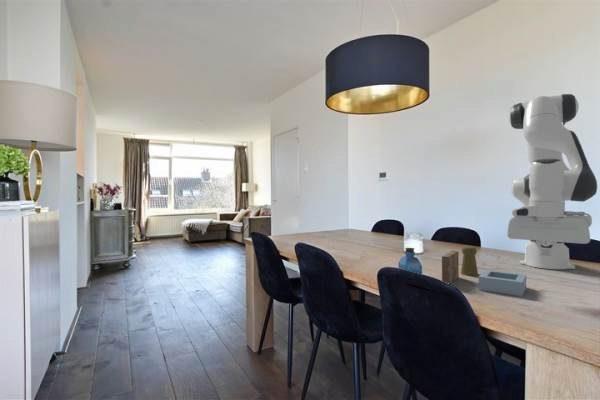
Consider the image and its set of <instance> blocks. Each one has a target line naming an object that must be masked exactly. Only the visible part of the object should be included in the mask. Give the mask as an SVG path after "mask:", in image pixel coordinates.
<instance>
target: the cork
mask: <svg viewBox="0 0 600 400" xmlns="http://www.w3.org/2000/svg"><path fill="white" fill-rule="evenodd" d="M477 251H478V250H477V247H475V246H472V245H464V246H462V248H461V252H462V255H463V256H462V262H461V263H462V264H461V269H460V270H461V271H460V274H461V275H463V276H468V277H470V276H471V277H476V276H478V275H479V272H478V265H477V260H476V255H477V253H478V252H477Z"/></svg>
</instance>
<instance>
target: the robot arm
mask: <svg viewBox="0 0 600 400" xmlns="http://www.w3.org/2000/svg"><path fill="white" fill-rule="evenodd" d="M579 107H580V106H579V101H578V100H577V98H576V96H575V95H573V93H564V94H563V93H562V94H560V95H550V96H549V95H548V96H546V95H543V96H542V95H541V96H537V97H534V98H532V99H531V100H527V101H525V102H519V103H517V104H514V105H512V106H511V108H510V109H509V112H508V115H507V116H508V117H507V120H508V122H509V124H510V125H511V127H512V128H513V129H515V130H523V136H524V139H525V140H526V142H527V154H528V162H529V164H530V169H529V174H527V175H526V176H522V177H518V178H517V177H516V178H515V180H513V182H512V183H511V187H510V191H511V194H512V196H513V197H514V198H515V199H516V200H518V201H520V203H522V204H523V206H521V207H519V208H518V207H517V208H514V209H512V212H511V215H512V217H511V218H510V219H509V221H508V225H507V234H506V235H507V237H508V238H509V239H510V240H521V241H522V240H526V241H529V242H528V243H526V244H525V246H524V259H522V260H520V261H519V264H522V265H526V266H528V267H534V268H538V269H539V268H540V269H548V270H576V266H575V264H572V263H571V262H570V248H569V247H568V246H567V245H565V243H568V244H569V243H571V244H583V245H585V244H588V243H590V242H591V235H590V234H591V233H590V227H591V225H592V223H593V222H592V221H593V220H592V219H593V218H592V216H591V215H590V214H589V213H587V212H585V211H573V210H572V211H570V210H569V211H566V202H568V201H570V202H586V201H588V200H589V199H590V200H591V198H592V197H594V196H595V195H596V194H597V190H598V181H597V178H596V175H595V174H594V172H593V170H592V168H591V167H590V164H589V162H588V159H587V157H586V155H585V153H584V149H583V147H582V143H581V142H580V140H579V137H578V136H577V134H576V133H575V131H573V130H570V129H568V128H567V127H565V125H566V123H569V122H571V121H572V120H574V119H575V118H576V116H577V114H578V112H579ZM563 155H565V157H566V159H567V162H568V164H569V167H568V166H567V164H566V163H565V162H564V158H563Z"/></svg>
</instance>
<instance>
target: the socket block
mask: <svg viewBox="0 0 600 400" xmlns="http://www.w3.org/2000/svg"><path fill="white" fill-rule="evenodd" d="M526 289H527V274H524V273H517V272H508V271H507V272H506V271H501V270H500V271H499V270H490V269H485V270H483V272H482V273H481V274H480V275H479V276H478V290H479V291H483V292H484V291H485V292H490V293H497V294H504V295H510V296H515V297H523V296H524V294H525V293H526V292H525V291H526Z"/></svg>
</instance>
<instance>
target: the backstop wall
mask: <svg viewBox="0 0 600 400" xmlns="http://www.w3.org/2000/svg"><path fill="white" fill-rule="evenodd" d="M459 263H460V261H459V250H451V251H449V252H447V253H446V254H444V255H442V256H441V282H442V281H443V282H446V283H449V284H450V285H451V284H452V283H454V282H455V281H456V280H457V279H458V278H459V271H460V270H459V267H460V266H459Z"/></svg>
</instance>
